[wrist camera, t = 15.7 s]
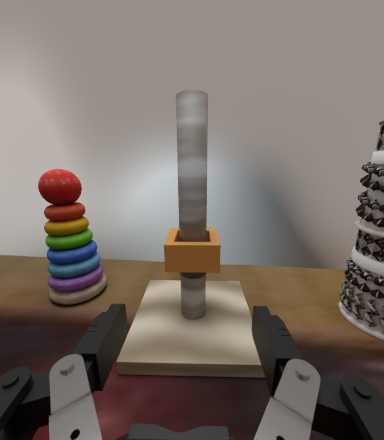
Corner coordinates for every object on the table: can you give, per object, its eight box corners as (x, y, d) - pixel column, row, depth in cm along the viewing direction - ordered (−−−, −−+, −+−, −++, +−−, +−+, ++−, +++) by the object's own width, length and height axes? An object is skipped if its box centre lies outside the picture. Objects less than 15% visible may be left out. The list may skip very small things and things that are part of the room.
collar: (219, 272, 21) (220, 245, 20) (165, 272, 21) (164, 245, 21) (215, 250, 27) (215, 228, 26) (171, 250, 27) (171, 228, 26)
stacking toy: (113, 276, 37) (100, 168, 32) (95, 306, 29) (74, 169, 24) (68, 278, 36) (48, 168, 32) (37, 308, 29) (4, 170, 24)
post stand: (266, 377, 19) (303, 56, 13) (118, 374, 20) (77, 61, 13) (238, 289, 33) (249, 112, 26) (150, 288, 33) (139, 114, 26)
